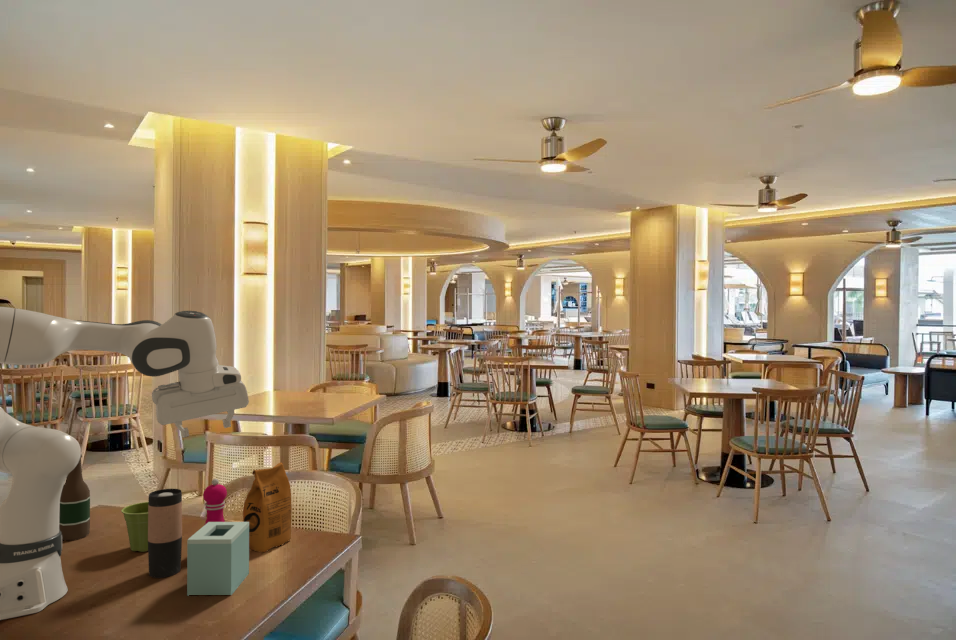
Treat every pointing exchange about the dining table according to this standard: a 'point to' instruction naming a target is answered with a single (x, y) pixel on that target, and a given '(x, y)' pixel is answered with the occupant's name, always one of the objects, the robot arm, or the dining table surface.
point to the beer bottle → (74, 506)
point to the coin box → (217, 558)
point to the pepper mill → (215, 501)
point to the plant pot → (137, 525)
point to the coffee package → (268, 509)
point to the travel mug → (164, 532)
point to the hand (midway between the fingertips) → (206, 431)
